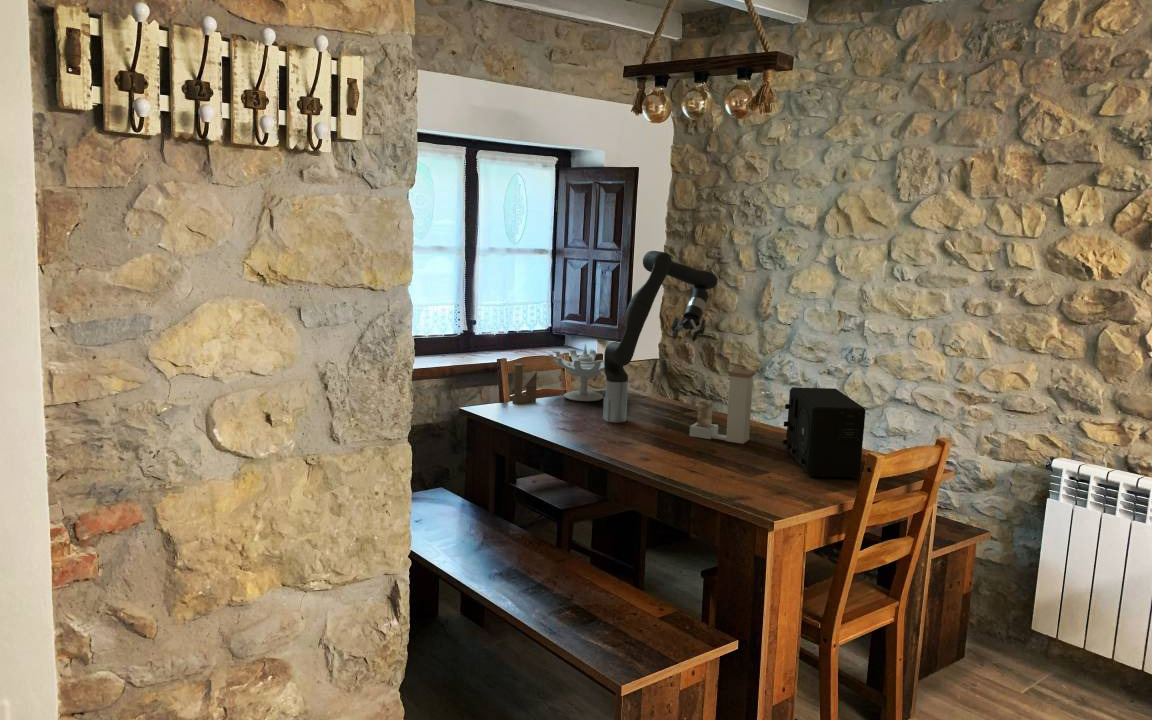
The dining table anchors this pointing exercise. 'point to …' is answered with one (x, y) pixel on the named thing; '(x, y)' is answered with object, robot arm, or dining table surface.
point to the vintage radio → (825, 432)
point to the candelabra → (581, 372)
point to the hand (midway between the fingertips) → (683, 339)
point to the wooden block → (524, 386)
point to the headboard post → (733, 410)
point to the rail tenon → (704, 413)
